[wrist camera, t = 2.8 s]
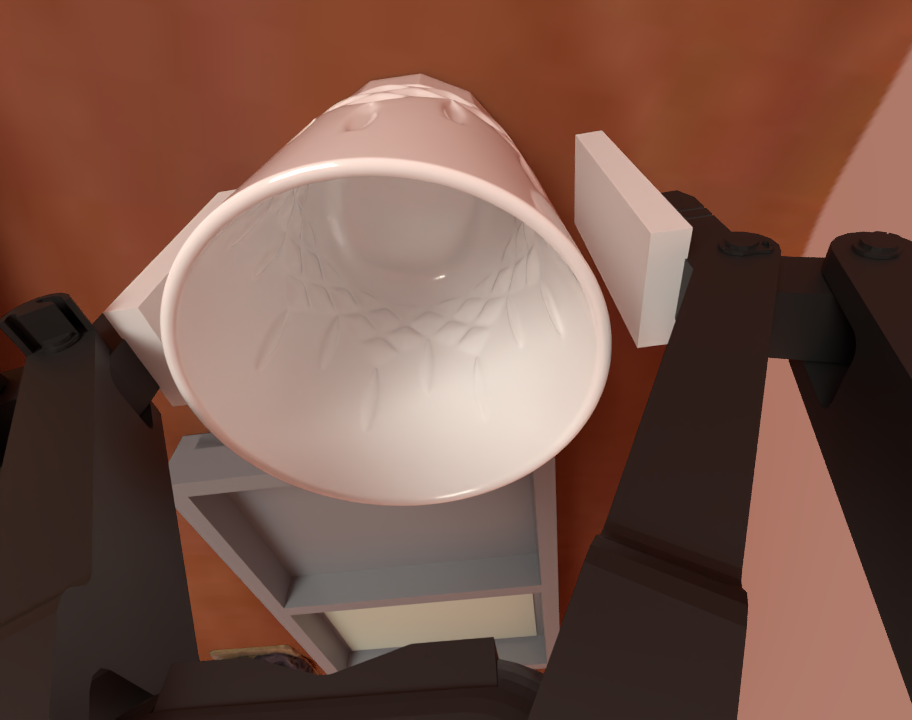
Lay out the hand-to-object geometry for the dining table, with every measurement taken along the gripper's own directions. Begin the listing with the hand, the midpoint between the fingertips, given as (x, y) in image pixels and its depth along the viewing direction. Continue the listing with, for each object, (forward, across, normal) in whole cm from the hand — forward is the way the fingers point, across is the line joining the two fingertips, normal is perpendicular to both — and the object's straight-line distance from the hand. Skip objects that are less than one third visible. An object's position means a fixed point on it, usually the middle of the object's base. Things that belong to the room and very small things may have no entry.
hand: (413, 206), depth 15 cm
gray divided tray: (+2, -5, -24) cm, 25 cm away
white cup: (+2, 0, 0) cm, 2 cm away
